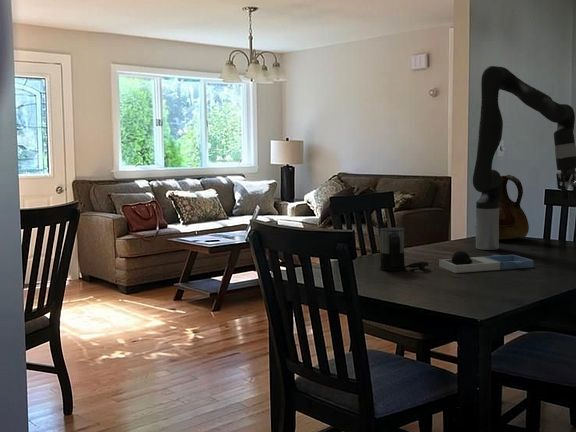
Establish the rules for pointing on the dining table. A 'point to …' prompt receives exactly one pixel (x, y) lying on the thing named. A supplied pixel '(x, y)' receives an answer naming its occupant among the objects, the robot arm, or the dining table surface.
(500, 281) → the dining table surface
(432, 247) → the dining table surface
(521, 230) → the ceramic pitcher
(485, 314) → the dining table surface
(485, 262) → the two-tone divided frame
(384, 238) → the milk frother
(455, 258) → the light bulb
